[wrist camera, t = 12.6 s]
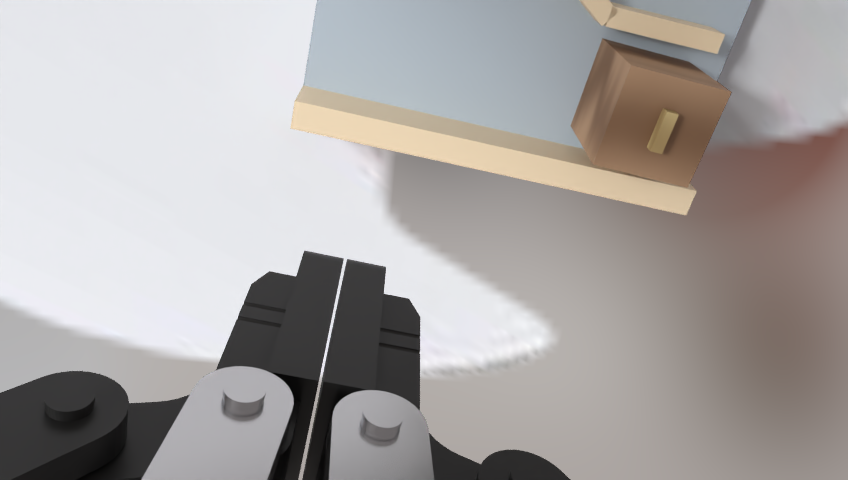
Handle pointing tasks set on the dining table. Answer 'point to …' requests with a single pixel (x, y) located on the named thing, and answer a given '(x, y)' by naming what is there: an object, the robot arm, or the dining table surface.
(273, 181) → the dining table surface
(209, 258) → the dining table surface
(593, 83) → the walnut box
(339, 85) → the board
